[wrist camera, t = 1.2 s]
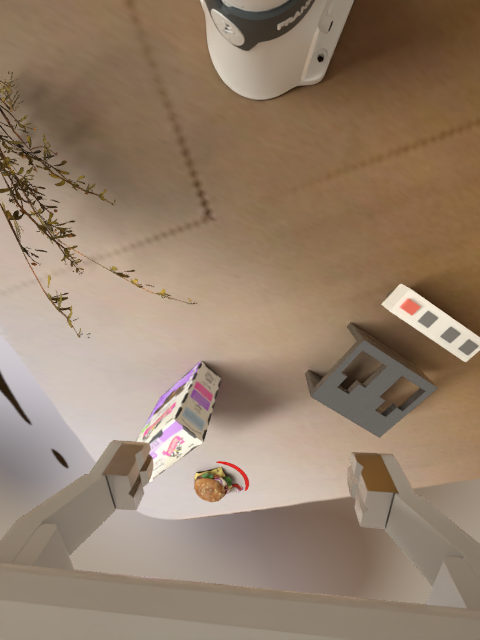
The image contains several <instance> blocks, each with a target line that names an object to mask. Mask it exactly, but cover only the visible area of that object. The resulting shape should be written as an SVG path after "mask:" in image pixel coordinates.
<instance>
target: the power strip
mask: <svg viewBox="0 0 480 640" xmlns="http://www.w3.org/2000/svg"><path fill="white" fill-rule="evenodd" d="M381 305H383V306H384V307H385V308H386V309H388V310H389V311H390V312H392V313H393V314H395V315H396V316H398V317H399V318H401V319H402V320H404V321H405V322H407V323H408V324H409V325H411V326H412V327H414V328H415V329H417V330H418V331H420V332H421V333H423V334H424V335H426V336H427V337H429V338H430V339H432V340H433V341H435V342H436V343H437V344H439V345H440V346H442V347H443V348H445V349H446V350H448V351H449V352H451V353H452V354H454V355H455V356H457V357H458V358H460V359H461V360H462V361H464V362H467V361H468V360H469V359H470V358H471V357H472V356H474V355H475V354H476V353H477V352H478V351H479V350H480V337H478V336H477V335H476V334H474V333H473V332H471V331H470V330H468V329H467V328H466V327H464V326H463V325H461V324H460V323H458V322H457V321H456V320H454V319H453V318H451V317H450V316H448V315H447V314H446V313H444V312H443V311H441V310H440V309H439V308H437V307H436V306H434V305H433V304H431V303H430V302H429V301H427V300H426V299H424V298H423V297H421V296H420V295H419V294H417V293H416V292H414V291H413V290H411V289H410V288H408V287H406V286H404V285H402V284H400V285H399V286H398V287H397V288H396V289H395V290H393V291H391V292H390V293H389V294H388V296H387V298H386V300H385V301H384V302H383V303H382V304H381Z"/></svg>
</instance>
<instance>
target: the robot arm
mask: <svg viewBox="0 0 480 640" xmlns="http://www.w3.org/2000/svg"><path fill="white" fill-rule="evenodd" d="M200 2H201V4H202V7H203V10H204V12H205V18H206V30H207V42H208V48H209V52H210V56H211V59H212V62H213V64H214V67H215V69H216V71H217V72H218V74H219V76H220V77H221V78H222V80H223V81H224V82H225V83H226V84H227V85H228V86H229V87H230V88H231V89H232V90H233V91H235V92H236V93H238V94H240V95H242V96H244V97H247V98H250V99H256V100H264V99H270V98H274V97H277V96H279V95H281V94H283V93H285V92H287V91H288V90H290V89H292V88H294V87H296V86H302V85H313V84H316V83H318V82H320V81H321V80H322V79H323V77H324V75H325V73H326V71H327V68H328V65H329V63H330V60H331V58H332V55H333V53H334V50H335V48H336V45H337V43H338V40H339V38H340V35H341V33H342V30H343V28H344V25H345V23H346V20H347V18H348V15H349V12H350V10H351V7H352V5H353V2H354V0H200ZM319 56H321V57H323V61H322V62H319V61H318V59H317V58H318V57H319ZM150 450H151V448H150V444H149V443H146V442H133V441H117V440H113V441H112V442H111V443H110V444H109V445H108V447H107V448H106V450H105V451H104V452H103V454H102V455H101V457H100V458H99V460H98V461H97V463H96V464H95V466H94V467H93V469H92V470H91V471H90V473H89V474H85V475H83V476H82V477H80V478H79V479H77V480H76V481H74V482H73V483H71V484H70V485H68V486H67V487H65V488H64V489H62V490H61V491H59V492H58V493H56V494H55V495H53V496H52V497H51V498H49V499H47V500H46V501H44V502H43V503H42V504H40V505H39V506H37V507H35V508H34V509H32V510H31V511H29V512H28V513H27V514H25V515H24V516H22V517H21V518H19V519H18V520H17V521H16V522H15V523H14V524H13V526H12V527H11V528H10V529H9V531H8V532H7V533H6V534H5V536H4V537H3V538H2V539H1V540H0V640H480V544H479V543H478V542H477V541H476V540H475V539H473V538H472V537H471V536H470V535H468V534H467V533H466V532H465V531H463V530H462V529H461V528H460V527H459V526H457V525H456V524H455V523H454V522H452V521H451V520H450V519H448V517H446V516H445V515H444V514H442V513H441V512H440V511H439V510H438V509H437V508H435V507H434V506H433V505H432V504H430V503H429V502H428V501H427V500H426V499H424V498H423V497H422V496H421V495H416V494H415V493H414V490H413V489H412V487H411V485H410V483H409V481H408V479H407V478H406V476H405V474H404V472H403V470H402V468H401V467H400V465H399V463H398V461H397V459H396V457H395V456H394V455H393V454H380V453H379V454H377V453H357V452H351V454H350V458H349V460H350V463H351V466H350V467H349V468H348V471H347V481H348V487H349V491H350V494H351V496H352V497H353V498H354V499H355V500H356V502H355V507H354V508H355V511H356V514H357V517H358V520H359V524H360V527H368V528H379V529H386V530H385V531H386V532H387V533H388V534H389V536H390V537H391V538H392V539H393V540H394V541H395V543H396V544H397V545H398V546H399V547H400V549H401V550H402V551H403V552H404V553H405V554H406V556H407V557H408V558H409V559H410V560H411V562H412V563H413V564H414V565H415V566H416V568H417V569H418V570H419V571H420V572H421V574H422V575H423V576H424V577H425V578H426V580H427V581H428V582H429V583H430V584H431V586H432V590H431V592H430V595H429V597H428V600H427V602H426V604H415V603H406V602H395V601H385V600H375V599H365V598H354V597H344V596H335V595H325V594H315V593H304V592H295V591H284V590H274V589H264V588H254V587H244V586H234V585H224V584H213V583H202V582H193V581H182V580H173V579H162V578H153V577H142V576H132V575H122V574H111V573H102V572H92V571H82V570H75V567H74V564H73V562H72V560H71V557H70V555H71V554H72V553H73V552H74V551H75V550H76V549H77V548H78V547H79V546H80V545H81V544H82V543H83V542H84V541H85V540H86V539H87V538H88V537H89V536H90V535H91V534H92V533H93V532H94V531H95V530H96V529H97V528H98V527H99V526H100V525H101V524H102V523H103V522H104V521H105V520H106V519H107V518H108V517H109V516H110V515H111V514H112V513H113V512H114V511H115V509H124V510H125V509H126V510H137V508H138V506H139V503H140V501H141V499H142V497H143V494H144V491H143V487H144V486H145V485H146V484H147V483H149V481H150V478H151V476H152V471H153V457H152V456H151V455H150V454H149V452H150Z"/></svg>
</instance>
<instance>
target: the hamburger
mask: <svg viewBox="0 0 480 640" xmlns="http://www.w3.org/2000/svg"><path fill="white" fill-rule="evenodd" d="M217 463H221V464H225V465H228V466H230V467H233V468H234V469H236V470H237V471H238V472H240V474H241V475H242V476H243V478H244V480H245V485H246V487H245V491H246V490H247V489H248V487H249V480H248V477H247V475H246V474H245V473H244V472H243V471H242V470H241V469H240V468H239V467H237V466H235V465H233V464H231V463H228V462H221V461H218V462H217ZM217 470H219V472H217ZM194 479H195V486H194V489H195V491H196V493H197V495H198V496H199V497H200V498H202V499H203V500H206V501H209V502H216V501H219V500H220V499H221V498H222V497H224V496H225V495H226V494H228V493H229V492H230V490H231V489H230V488H232V486H233V487H237V489H238V491H236V492H239V491H242V490H243V487H242V486H241V487H240V486H239V485H238V484H232V480H231V478H230V477H226V475H225V474H224V473H223V471H222V468H221V467H219V468H217V469H214V470H212V471H206V472H203V473H196V475H195V477H194Z"/></svg>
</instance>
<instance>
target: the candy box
mask: <svg viewBox="0 0 480 640" xmlns="http://www.w3.org/2000/svg"><path fill="white" fill-rule="evenodd" d="M220 383H221V378H220V377H219V376H218V375H217V374H215V373H214V372H213V371H212V370H211V369H210V368H209V367H208V366H207V365H205V364H204V363H203V362H200V363H198V364H197V365H196V366H195V367H194V368H193V369H192V370H191V371H190V372H188V373H187V374H186V375H185V376H184V377H183V378H182V379H181V380H180V381H178V382H177V383H176V384H175V385H174V386H173V387H172V388H171V389H170V390H168V391H167V392H166V393H165V394H164V395H163V396H162V397H161V398H160V399H159V401H158V403H157V404H156V406H155V408H154V410H153V411H152V413H151V415H150V417H149V419H148V420H147V422H146V424H145V426H144V427H143V429H142V431H141V433H140V435H139V436H138V438H137V440H136V442H146V443H149V444H150V448H151V450H150V452H149V454H150V455H151V456H152V457H153V471H152V476H151V478H150V482H151V481H152V480H153V479H154V478H155V477H157V476H158V475H159V474H161V473H162V472H163V471H165V470H166V469H168V468H169V467H170V466H172V465H173V464H174V463H176V462H177V461H179V460H180V459H181V458H183V457H184V456H185V455H186V454H188V453H189V452H190V451H192V450H193V449H194V448H196V447H197V446H198V445H200V444H202V443H203V442H204V439H205V436H206V432H207V428H208V425H209V422H210V418H211V414H212V411H213V407H214V404H215V400H216V396H217V393H218V390H219V386H220Z"/></svg>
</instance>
